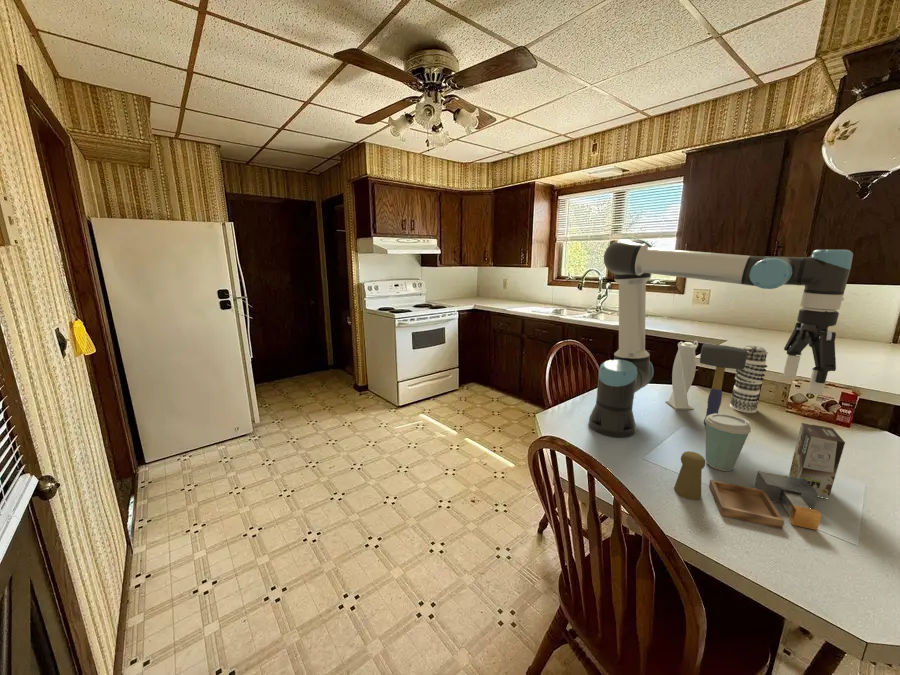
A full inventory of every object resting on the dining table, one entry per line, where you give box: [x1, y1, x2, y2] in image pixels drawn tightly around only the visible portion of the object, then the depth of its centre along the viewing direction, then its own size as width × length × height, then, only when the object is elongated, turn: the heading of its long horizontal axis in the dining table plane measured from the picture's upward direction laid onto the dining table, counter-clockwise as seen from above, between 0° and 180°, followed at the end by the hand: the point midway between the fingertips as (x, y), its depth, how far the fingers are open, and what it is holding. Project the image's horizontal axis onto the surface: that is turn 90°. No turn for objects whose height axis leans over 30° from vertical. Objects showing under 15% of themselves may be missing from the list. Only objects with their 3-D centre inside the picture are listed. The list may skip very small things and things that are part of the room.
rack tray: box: [708, 479, 785, 530], centre depth 90 cm, size 12×12×2 cm
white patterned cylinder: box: [729, 345, 769, 414], centre depth 142 cm, size 9×9×25 cm
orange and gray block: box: [778, 489, 822, 531], centre depth 88 cm, size 4×12×4 cm, turn 157°
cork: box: [673, 451, 706, 501], centre depth 94 cm, size 6×6×11 cm
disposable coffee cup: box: [704, 412, 752, 472], centre depth 106 cm, size 11×11×15 cm
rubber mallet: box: [699, 343, 747, 428], centre depth 126 cm, size 12×8×30 cm, turn 54°
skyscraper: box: [665, 340, 699, 411], centre depth 143 cm, size 8×8×28 cm
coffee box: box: [788, 422, 846, 500], centre depth 96 cm, size 9×6×16 cm
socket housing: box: [754, 470, 818, 510], centre depth 93 cm, size 10×6×4 cm, turn 67°
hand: (801, 384), depth 102 cm, fingers open, 13 cm apart
